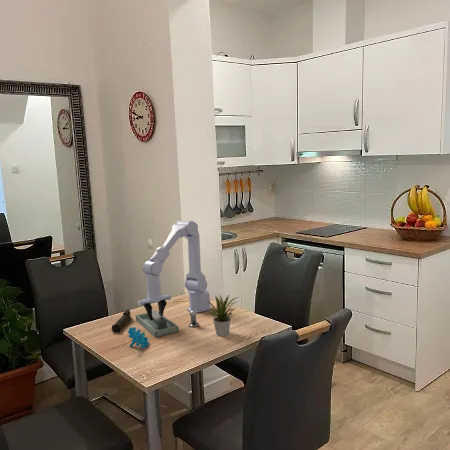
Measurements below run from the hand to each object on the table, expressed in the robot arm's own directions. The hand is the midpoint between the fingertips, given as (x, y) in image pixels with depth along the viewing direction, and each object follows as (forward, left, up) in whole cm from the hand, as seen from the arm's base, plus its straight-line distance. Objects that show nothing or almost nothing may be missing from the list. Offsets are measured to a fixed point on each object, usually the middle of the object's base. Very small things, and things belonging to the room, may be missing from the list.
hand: (155, 318), depth 199 cm
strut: (0, 0, -3) cm, 3 cm away
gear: (+14, +16, -4) cm, 22 cm away
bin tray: (0, 0, -3) cm, 3 cm away
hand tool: (+12, -11, -4) cm, 17 cm away
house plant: (-20, +26, -4) cm, 33 cm away
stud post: (-13, +10, -3) cm, 17 cm away
